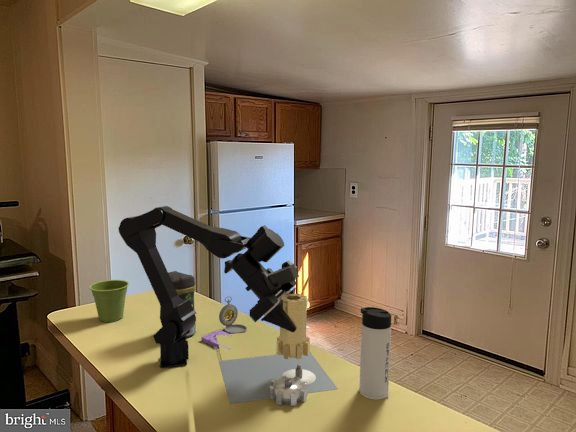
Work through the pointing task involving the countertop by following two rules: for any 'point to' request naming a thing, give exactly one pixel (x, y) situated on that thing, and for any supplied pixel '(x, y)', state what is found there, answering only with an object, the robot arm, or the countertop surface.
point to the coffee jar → (184, 290)
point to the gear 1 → (296, 341)
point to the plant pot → (110, 299)
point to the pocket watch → (230, 319)
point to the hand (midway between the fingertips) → (299, 325)
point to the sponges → (214, 338)
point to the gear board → (270, 375)
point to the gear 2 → (288, 391)
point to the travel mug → (375, 353)
